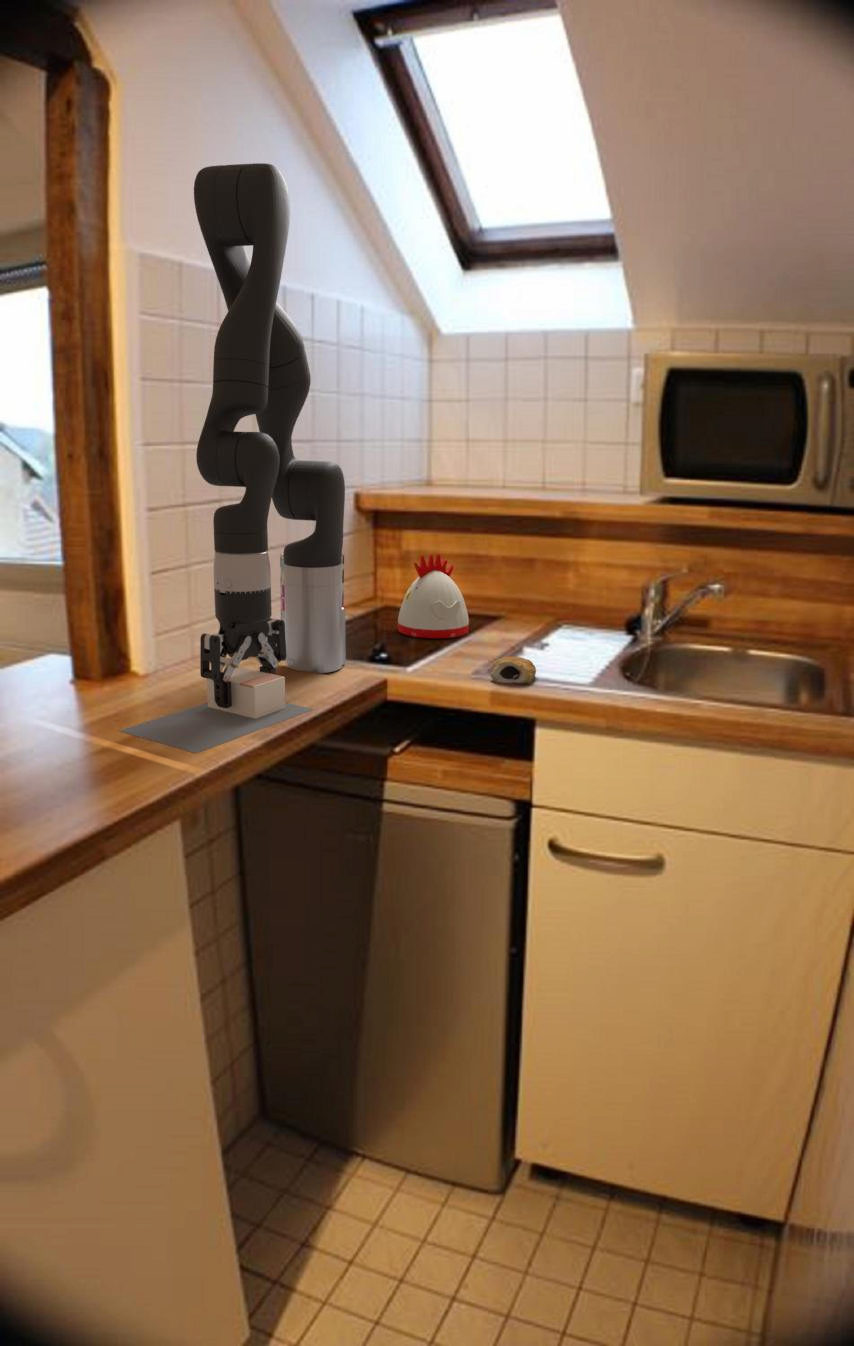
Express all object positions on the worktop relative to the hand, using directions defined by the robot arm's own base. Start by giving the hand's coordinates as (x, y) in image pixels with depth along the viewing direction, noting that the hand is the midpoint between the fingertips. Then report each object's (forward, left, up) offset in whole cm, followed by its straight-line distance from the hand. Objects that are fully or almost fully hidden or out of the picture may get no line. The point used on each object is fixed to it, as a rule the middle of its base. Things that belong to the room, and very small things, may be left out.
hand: (246, 699), depth 130 cm
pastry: (-39, +21, -2) cm, 44 cm away
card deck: (0, 0, -1) cm, 1 cm away
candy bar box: (-38, -20, -2) cm, 43 cm away
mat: (+6, +1, -2) cm, 6 cm away
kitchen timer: (-60, -8, -2) cm, 61 cm away
